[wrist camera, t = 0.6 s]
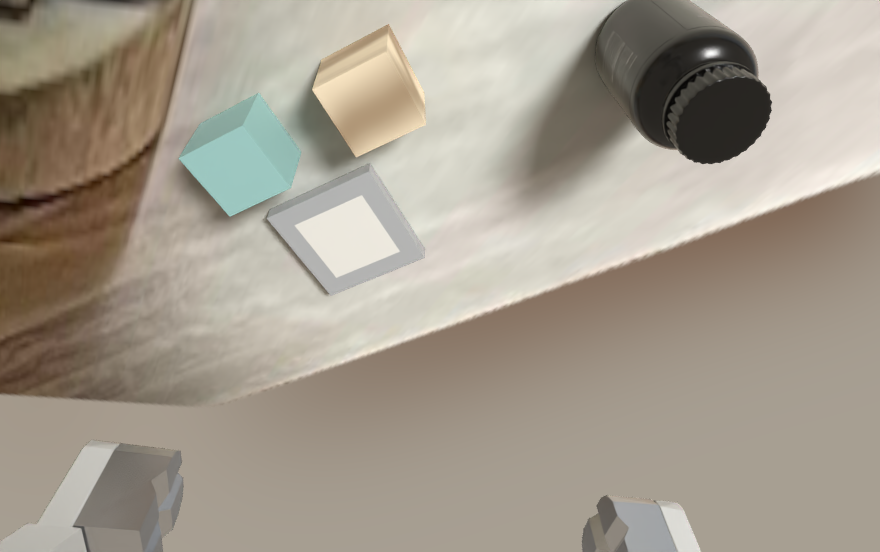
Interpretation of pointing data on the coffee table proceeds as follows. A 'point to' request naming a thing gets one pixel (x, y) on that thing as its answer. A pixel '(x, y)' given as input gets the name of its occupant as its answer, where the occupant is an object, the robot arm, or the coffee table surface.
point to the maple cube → (370, 92)
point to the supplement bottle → (683, 79)
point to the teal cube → (242, 155)
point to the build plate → (347, 230)
